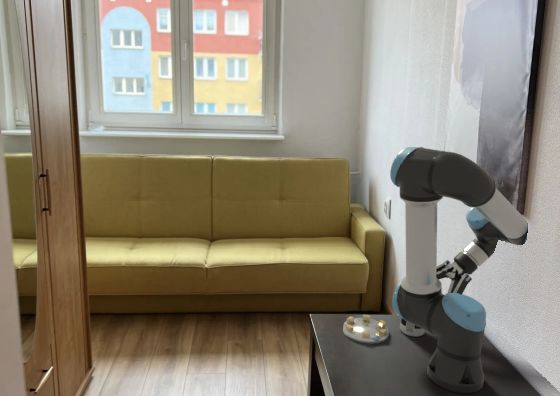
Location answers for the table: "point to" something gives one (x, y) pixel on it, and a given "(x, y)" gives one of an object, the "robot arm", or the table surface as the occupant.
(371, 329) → the ring plate
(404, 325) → the supplement can
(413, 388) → the table surface
